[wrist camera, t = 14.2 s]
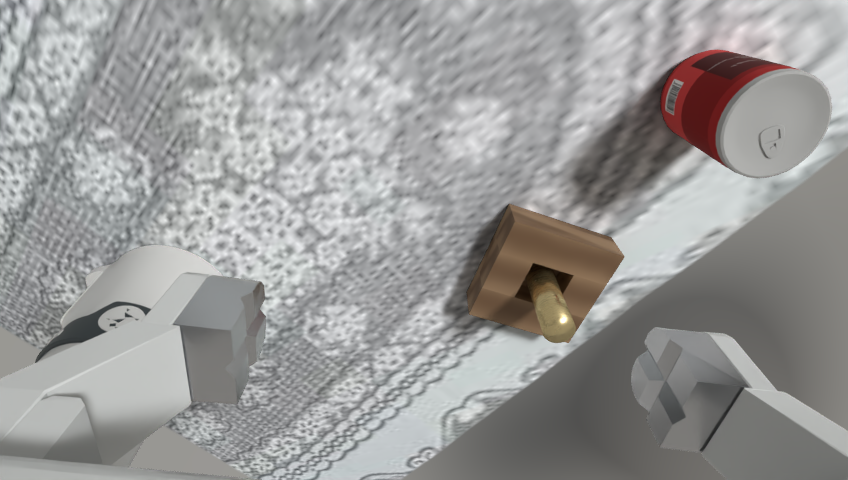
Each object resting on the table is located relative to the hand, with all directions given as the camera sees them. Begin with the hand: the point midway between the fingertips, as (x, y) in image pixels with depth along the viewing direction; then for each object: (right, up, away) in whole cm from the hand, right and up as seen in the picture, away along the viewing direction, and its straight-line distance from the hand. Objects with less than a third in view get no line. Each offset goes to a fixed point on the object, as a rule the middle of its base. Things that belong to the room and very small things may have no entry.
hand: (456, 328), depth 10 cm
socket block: (+12, -1, +43) cm, 45 cm away
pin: (+12, -2, +42) cm, 44 cm away
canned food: (+25, +15, +34) cm, 45 cm away
